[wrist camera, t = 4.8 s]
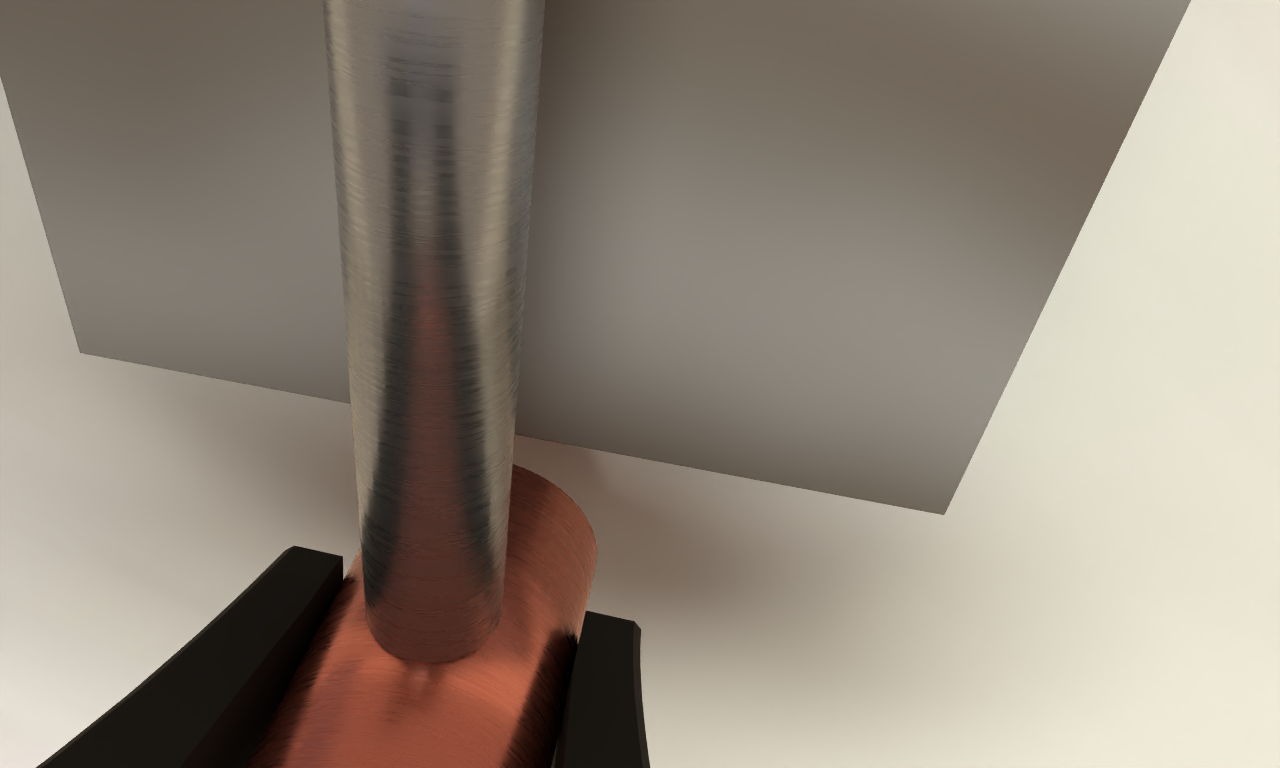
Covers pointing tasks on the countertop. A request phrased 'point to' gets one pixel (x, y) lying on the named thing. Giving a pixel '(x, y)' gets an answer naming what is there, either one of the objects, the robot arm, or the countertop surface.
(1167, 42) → the eye block
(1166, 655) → the countertop surface
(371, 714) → the copper head mallet
